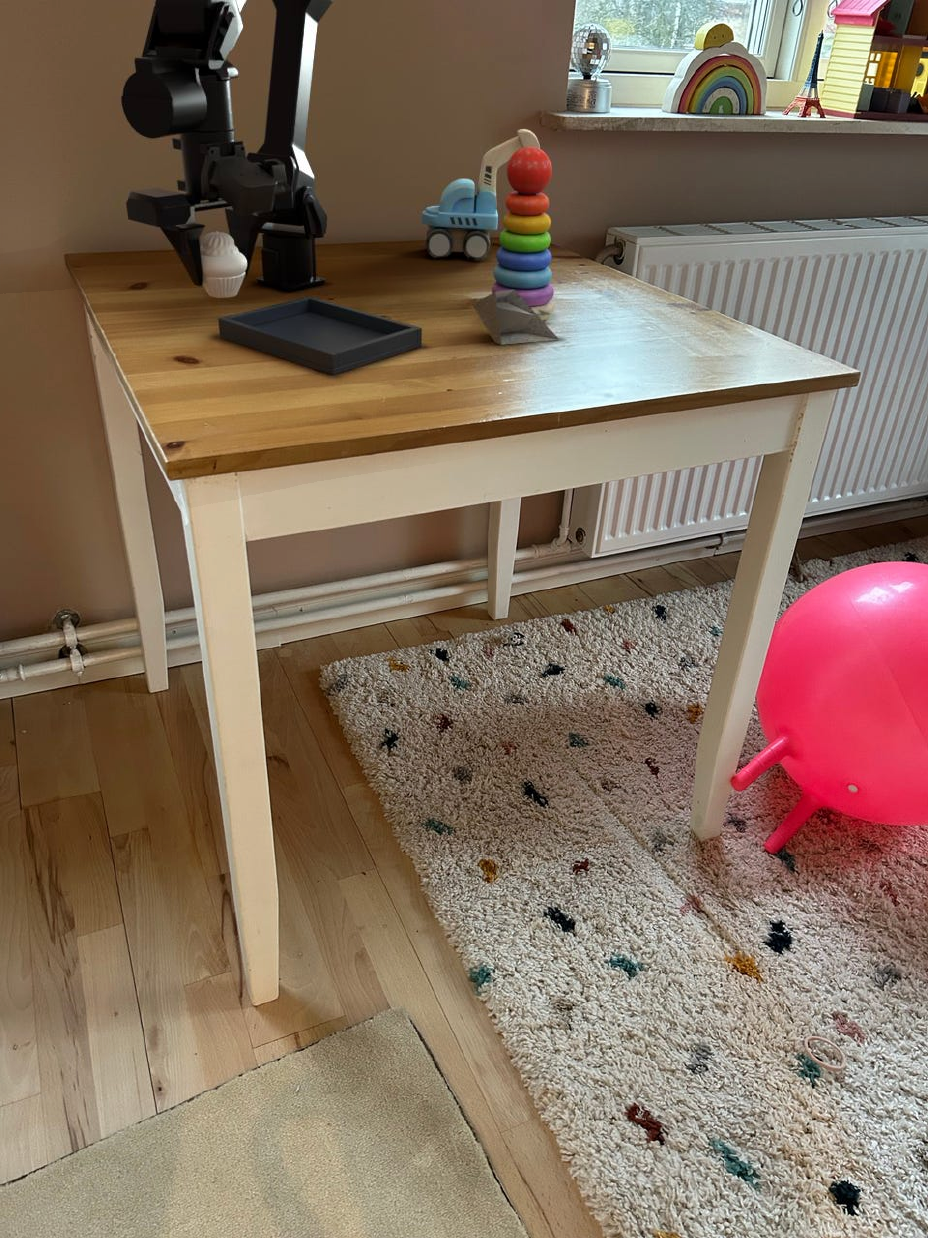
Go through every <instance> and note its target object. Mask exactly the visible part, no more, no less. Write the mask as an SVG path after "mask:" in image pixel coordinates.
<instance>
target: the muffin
mask: <svg viewBox="0 0 928 1238" xmlns="http://www.w3.org/2000/svg"><path fill="white" fill-rule="evenodd" d="M200 250H201V259H202V269H203V285H202V286H203V289H204V290H205V291H206V293H207V295H208V296H210V297H213V298H216V299H227V298H233V297H236V296H237V295H238V293H239V291H240V288H241V286H242V284H243V281H244V278H245V277H244V276H245V274H246V273H245V270H246V268H247V260H246V258H245V256H244V255H243V254H242V253H240V252H239V251H238V248H237V247H236V246H235V245H234V240H233V238H232V237H231V236H230V234H229V233H226V232H222V231H220V232H219V231H218V230H215V231H214V232H212V231H211V232H208V233H206V234H205V235H204V236H203V237H202V238H201V245H200Z"/></svg>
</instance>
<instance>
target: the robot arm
mask: <svg viewBox="0 0 928 1238" xmlns="http://www.w3.org/2000/svg"><path fill="white" fill-rule="evenodd" d="M247 1H248V0H155V1H154V5H153V9H152V13H151V18H150V22H149V24H148V25H149V26H148V28H147V29H148V30H147V34H146V38H145V43H144V46H143V48H142V49H143V50H142V54H141V56H139V57H138V56H137V57H135V58H134V60H133V61H134V69H135V72H133V73H132V74H131V75H129V76H128V78H127V79H126V81H125V83H124V85H123V88H122V95H121V97H120V102H121V107H122V111H123V114H124V116H125V119H126V120H127V122H128V124H129V125H130V127H131V128H132V129H133V130H134V131H135V132H136V133H137V134H139V135H141V137H145V138H147V139H150V140H151V139H152V140H153V139H155V140H156V139H160V138H166V137H170V136H175V135H178V136H179V137H172V138H171V139H172V140H171V141H172V149H174V150H179V151H180V152H181V153H180V154H181V162H182V171H183V178H182V179H176V182H177V183H176V185H177V191H181V192H184V193H181V192H177V191H172V190H170V189H169V190H168V189H164V188H159V187H155V188H147V189H140V190H139V189H138V190H131V191H130V192H129V194H128V196H127V199H126V202H125V206H126V213H127V219H128V220H129V221H132V222H136V223H141V224H145V225H147V226H152V227H156V228H159V229H160V230H161V231H162V233H163V235H164V236H165V237H166V240H167V241H168V242H169V243H170V245H171V246H172V247H173V249H174V251H175V253H176V255H177V256H178V258H179V260H180V261H181V263H182V265H183V267H184V268H185V270H186V272H187V274H188V276H189V278H190V279H191V281H192V283H193V285H195V286H196V287H202V286H203V269H202V259H201V250H200V247H201V241H200V239H201V236H202V233H203V231H204V229H205V227H206V225H205V224H203V223H198V222H197V219H196V213H197V212H204V211H209V210H217V209H223V208H224V213H225V218H226V219H225V220H226V224H227V228H228V229H227V230H228V231H229V232H228V235H230V236H231V237H232V238H233V240H234V245H235V246H236V247H237V248H238V251H239V252H240V253H242V254H243V255H244V256H245V258H246V260H247V268H246V270H245V273H246V274H245V276H244V278H246V277H248V274H249V270H250V267H251V264H252V260H253V255H254V252H255V247H256V244H257V241H258V238H259V234H261V238H262V239H261V240H262V247H261V248H260V255H261V269H262V270H261V271H262V276H260V277H257V278H256V281H257V283H260V284H264V285H267V286H270V287H275V288H279V289H281V290H285V291H296V290H300V289H305V288H308V287H309V288H310V287H313V286H316V285H322V284H325V283H326V279H325V278H323V277H320V276H317V257H316V255H317V254H316V253H317V252H316V239H323V238H325V234H326V233H327V229H328V228H327V227H328V215H327V214H326V211H325V210H324V207H323V206H322V204H321V202H320V200H319V198H318V196H317V194H316V192H315V175H314V173H313V171H312V168H311V166H310V163H309V161H308V159H307V156H306V153H305V146H306V137H307V127H308V118H309V107H310V97H311V87H312V79H313V70H314V69H313V68H314V60H315V49H316V41H317V30H318V24H319V22H320V21H321V20H322V18H323V17H324V15H325V14H326V12H327V11H328V10H329V9H330V7H331V6H332V4H333V2H334V0H271V1H272V4H273V7H274V9H275V20H274V32H273V40H272V41H273V42H272V53H271V64H270V74H269V85H268V94H267V95H268V96H267V105H266V116H265V117H266V118H265V128H264V137H263V143H262V144H261V146H260V147H259V148H258V150H257V151H256V152H248V153H246V146H245V145H244V140H239V139H236V136H235V125H234V124H235V123H234V113H233V101H232V99H233V98H232V89H231V87H232V86H231V79H233V80H234V79H237V78H238V77H239V70H238V69H237V68H236V67H235V65H233V64H232V63H231V62H230V61H229V60H228V58H227V57H228V55H229V54H231V52H232V50H233V49H234V48H235V45H236V43H237V41H238V38H239V36H240V34H241V32H242V30H243V28H244V24H243V19H242V16H241V12H242V9H243V8H244V5H245V4H246V3H247Z"/></svg>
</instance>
